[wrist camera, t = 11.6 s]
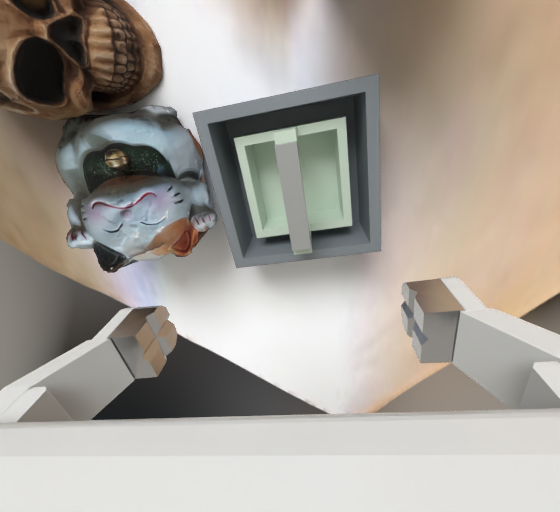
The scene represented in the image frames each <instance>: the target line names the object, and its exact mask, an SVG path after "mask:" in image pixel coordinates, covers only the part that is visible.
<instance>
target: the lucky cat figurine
mask: <svg viewBox="0 0 560 512" xmlns="http://www.w3.org/2000/svg"><path fill="white" fill-rule="evenodd" d="M55 161H56V166H57V169H58V172H59V173H60V175H61V177H62V179H63V181H64V183H65V184H66V185H67V186H68V187H69V189H70V190H71V192H72V193H73V195H74V199H70V200H69V202H68V203H67V207H68V211H67V215H68V218H69V221H70V224H71V228H72V229H70V231H69V232H68V234H67V237H66V239H67V244H68V246H69V247H70V248H72V249H73V248H80V249H91V248H93V249H94V252H95V254H96V256H97V258H98V262H99V264H100V267H101V268H102V269H103V270H104V271H107V272H108V273H110V272H114V273H115V272H116V271H117V270H118V269H119V268H121V267H125V266H127V265H129V264H132V263H135V262H138V261H140V260H156V259H159V258H161V257H162V256H164V255H166V254H169V253H173V254H175V255H176V256H177V257H185V256H187V255H189V254H190V253H191V252H192V248H194V247H195V246H196V245H197V243H198V242H199V240H200V239H201V238H202V237H203V236H204V234H205V233H206V232H207V231H208V230H209V229H210V228H212V227H213V226H214V225H215V224H216V222H217V215H216V213H215V211H214V204H213V200H212V198H211V197H210V193H209V189H208V186H207V183H206V180H205V176H204V172H203V165H202V163H203V154H202V150H201V147H200V145H199V144H198V142H197V141H196V139H195V138H194V136H193V135H192V133H191V131H190V130H189V129H186V128H184V127H183V126H182V125H181V123H180V122H179V120H178V118H177V111H176V110H175V109H173V108H171V107H163V106H155V105H150V106H145V107H142V108H141V109H139V110H137V111H135V112H132V113H119V114H113V115H82V116H79V117H71V118H68V120H67V122H66V124H65V126H64V127H63V136H62V138H61V140H60V142H59V145H58V147H57V151H56V155H55Z"/></svg>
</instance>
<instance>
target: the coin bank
mask: <svg viewBox="0 0 560 512" xmlns="http://www.w3.org/2000/svg"><path fill="white" fill-rule="evenodd" d="M161 77H162V70H161V52H160V46H159V44H158V42H157V40H156V38H155V36H154V34H153V32H152V29H151V28H150V26H149V25H148V23H147V22H146V21H145V20H144V19H143V18H142V17H141V16H140V15H139V14H138V12H137V11H136V10H135V9H134V8H133V7H132V6H131V5H129V4H128V3H127V2H126V1H124V0H0V107H2V108H4V109H6V110H9V111H12V112H15V113H19V114H24V115H28V116H32V117H38V118H43V119H49V120H61V119H66V118H71V117H79V116H82V115H84V114H87V113H88V112H90V111H102V110H107V109H112V108H117V107H121V106H124V105H128V104H132V103H136V102H137V101H139V100H140V99H141V98H143V97H144V96H145V95H146V94H147V93H149V92H150V91H151V89H152V87H154V86H157V84H158V83H159V81H160V79H161Z"/></svg>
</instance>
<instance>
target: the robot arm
mask: <svg viewBox="0 0 560 512" xmlns="http://www.w3.org/2000/svg"><path fill="white" fill-rule="evenodd" d="M402 296H403V297H404V299H405V301H404V303H403V304H402V305H401V315H402V322H403V325H404V328H405V331H406V333H407V335H409V336H410V337H412V346H413V348H414V351H415V353H416V355H417V357H418V359H419V361H420V363H441V362H453V363H452V364H454V365H455V366H456V367H457V368H459V369H460V370H462V371H463V372H464V373H465V374H467V375H468V376H470V378H472V379H473V380H474V381H476V382H477V383H478V384H480V385H481V386H482V387H483V388H485V389H486V390H487V391H489V392H490V393H491V394H493V395H494V396H495V397H497V398H498V399H499V400H500V401H502V402H503V403H504V404H506V405H507V406H508V407H510V408H511V409H509V410H472V411H471V410H470V411H436V412H435V411H432V412H396V413H355V414H317V415H280V416H279V415H277V416H240V417H202V418H166V419H165V418H163V419H127V420H126V419H125V420H91V419H92V418H93V417H94V416H95V415H96V414H97V413H98V412H100V411H101V410H102V409H103V408H104V407H105V406H106V405H107V404H108V403H110V402H111V401H112V400H113V399H114V398H115V397H116V396H117V395H118V394H119V393H121V392H122V391H123V390H124V389H125V388H126V387H127V386H128V385H129V384H131V383H132V382H133V381H134V379H137V378H149V377H157V376H158V375H159V373H160V372H161V370H162V368H163V366H164V364H165V363H166V361H167V360H166V355H167V354H169V353H170V352H171V351H172V350H173V348H174V347H175V345H176V340H177V332H176V328H175V326H174V324H173V323H171V322H170V321H169V320H168V318H169V313H168V311H167V309H166V307H164V306H149V307H137V308H126V309H123V310H120V311H119V312H118V313H117V314H116V315H115V316H114V317H113V318H112V319H111V321H109V323H108V324H107V325H106V326H105V327H104V328H103V329H102V330H101V331H100V332H99V333H98V334H97V335H96V336H95V337H94V338H93V339H92V340H88V341H86V342H84V343H82V344H81V345H79V346H77V347H75V348H73V349H72V350H70V351H68V352H66V353H64V354H63V355H61V356H60V357H58V358H56V359H54V360H52V361H50V362H49V363H47V364H46V365H43V366H41V367H40V368H38V369H36V370H34V371H33V372H31V373H29V374H27V375H26V376H24V377H22V378H20V379H19V380H17V381H15V382H13V383H11V384H10V385H8V386H6V387H5V388H3V389H2V390H1V391H0V512H560V335H558V334H556V333H553V332H551V331H548V330H546V329H543V328H541V327H539V326H536V325H534V324H531V323H529V322H526V321H524V320H521V319H519V318H516V317H514V316H511V315H509V314H507V313H504V312H502V311H499V310H497V309H494V308H493V309H488V308H487V307H486V306H485V305H484V304H483V303H482V302H481V301H480V300H479V299H478V298H477V297H476V296H475V295H474V294H473V292H472V291H471V290H470V289H469V288H468V287H467V286H466V285H465V284H464V283H463V282H462V281H461V280H460V279H459V278H458V277H455V276H454V277H446V278H438V279H432V280H423V281H414V282H405V283H403V285H402Z"/></svg>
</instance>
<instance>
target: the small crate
mask: <svg viewBox="0 0 560 512" xmlns="http://www.w3.org/2000/svg"><path fill="white" fill-rule="evenodd" d="M234 142H235V146H236V150H237V155H238V159H239V163H240V168H241V172H242V176H243V180H244V185H245V189H246V193H247V198H248V202H249V206H250V211H251V215H252V219H253V224H254V228H255V232H256V236H257V238H263V237H271V236H278V235H286V234H290V240H291V246H292V251H294V255H297V254H306V253H312V240H311V231H316V230H323V229H331V228H339V227H346V226H352V211H351V195H350V179H349V162H348V146H347V130H346V117H341V116H339V117H334V118H329V119H324V120H319V121H313V122H308V123H303V124H298V125H293V126H287V127H282V128H277V129H272V130H267V131H262V132H256V133H251V134H246V135H242V136H239V137H236V138H234Z"/></svg>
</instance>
